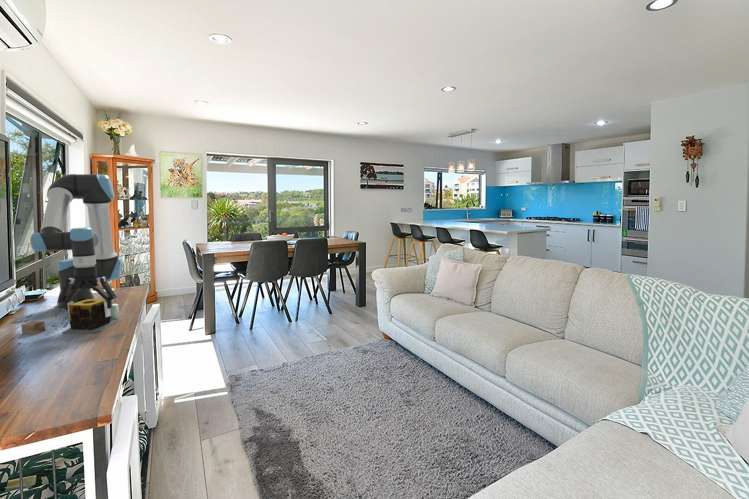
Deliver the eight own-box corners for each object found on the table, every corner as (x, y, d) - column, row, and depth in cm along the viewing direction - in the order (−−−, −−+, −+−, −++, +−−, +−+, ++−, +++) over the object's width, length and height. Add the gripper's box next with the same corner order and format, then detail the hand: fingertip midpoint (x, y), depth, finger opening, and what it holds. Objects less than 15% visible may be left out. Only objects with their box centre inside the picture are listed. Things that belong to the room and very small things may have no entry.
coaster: (82, 322, 172) (82, 321, 172) (117, 321, 174) (117, 319, 174) (62, 333, 159) (61, 332, 159) (100, 331, 161) (100, 330, 161)
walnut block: (34, 330, 164) (33, 320, 163) (45, 330, 163) (44, 321, 162) (22, 334, 159) (21, 324, 158) (33, 334, 158) (32, 325, 157)
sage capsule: (110, 317, 181) (109, 303, 180) (121, 316, 181) (120, 303, 180) (105, 320, 176) (104, 306, 176) (116, 319, 177) (115, 306, 176)
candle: (91, 330, 161) (89, 305, 160) (69, 329, 162) (66, 304, 161) (111, 322, 171) (109, 299, 170) (90, 321, 172) (87, 298, 171)
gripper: (44, 268, 158) (50, 321, 161) (113, 266, 161) (118, 318, 164) (56, 265, 165) (62, 315, 168) (122, 263, 169) (127, 313, 171)
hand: (90, 317), depth 166 cm, fingers open, 13 cm apart
